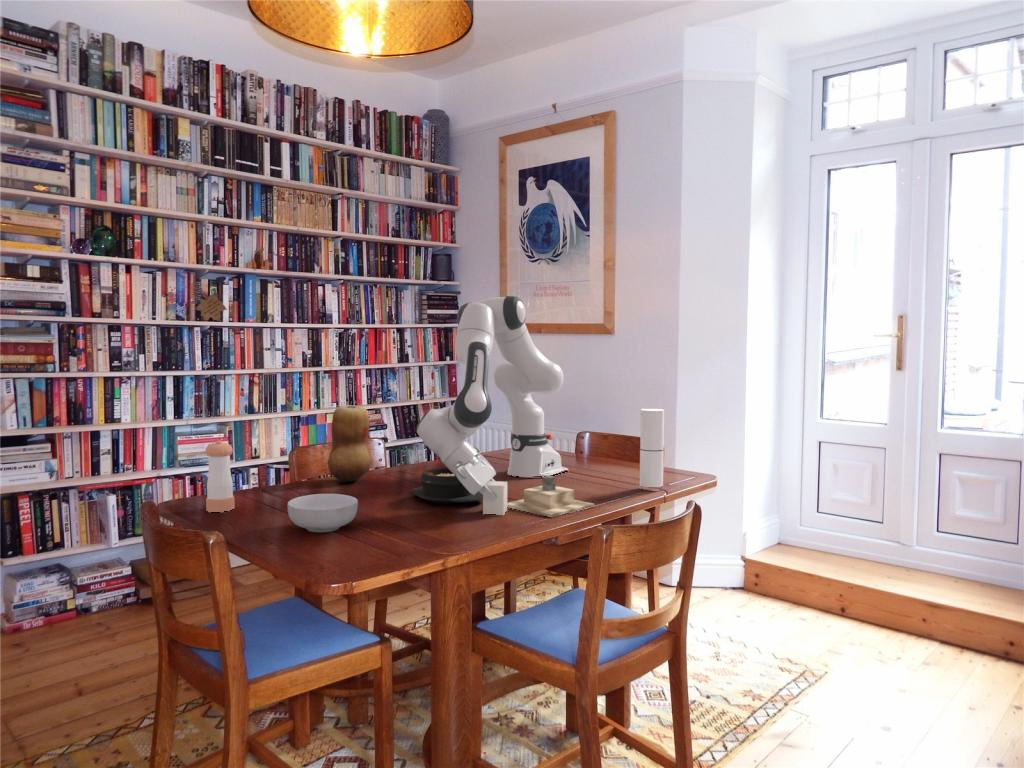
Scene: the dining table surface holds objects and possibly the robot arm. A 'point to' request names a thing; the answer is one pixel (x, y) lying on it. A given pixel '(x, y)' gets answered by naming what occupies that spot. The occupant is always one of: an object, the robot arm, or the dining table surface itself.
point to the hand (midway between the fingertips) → (497, 496)
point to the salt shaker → (219, 478)
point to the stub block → (548, 499)
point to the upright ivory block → (500, 502)
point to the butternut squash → (349, 443)
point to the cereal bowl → (322, 511)
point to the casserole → (443, 487)
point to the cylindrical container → (651, 447)
